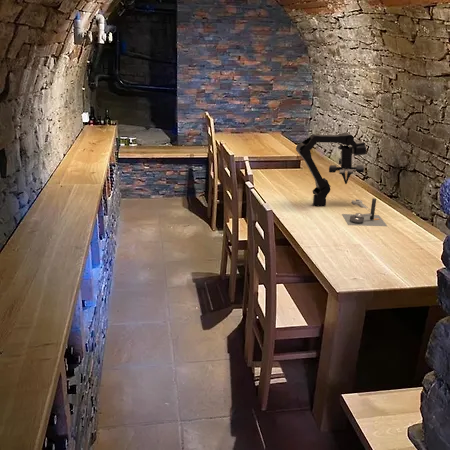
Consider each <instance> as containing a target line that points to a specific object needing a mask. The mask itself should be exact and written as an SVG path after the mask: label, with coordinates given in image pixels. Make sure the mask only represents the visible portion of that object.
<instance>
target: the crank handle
mask: <svg viewBox="0 0 450 450" xmlns="http://www.w3.org/2000/svg"><path fill="white" fill-rule="evenodd" d="M376 205H377V198H374V197H373V198H372V199H371V206H370V209H371V210H370V213H369V212H368V213H360V212H356V213H355V215H352V216H350V221H351V222H353V223H363V222H364V217H365V216H370V219H371V220H373V219H374V215H375V214H376V213H375V211H376Z"/></svg>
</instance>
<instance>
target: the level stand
mask: <svg viewBox="0 0 450 450" xmlns="http://www.w3.org/2000/svg"><path fill="white" fill-rule="evenodd" d="M355 214H356V213H355ZM355 214H354V213H351V214H350V213H341V216H342V217H343V219H344V221H345V223H346V225H347V226H364V227H388V225H387V224H386V222H385V221H384V220H383V218H382V217H381V216H380V214H374V219H373V220H371V219H370V216H365V217H364V222H363V223H353V222H351V221H350V216H352V215H355Z"/></svg>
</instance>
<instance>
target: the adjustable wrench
mask: <svg viewBox="0 0 450 450" xmlns="http://www.w3.org/2000/svg"><path fill="white" fill-rule="evenodd" d="M351 204H352V205H355V206H358V207H360V208H362V209H363V208H364V209H365V210H367V212H368V213H369V212H370V213H371V207H368V206H366V205H365V204H364V203H363V200H361V199H358V198H356V199H355V200H354V199H352V200H351Z"/></svg>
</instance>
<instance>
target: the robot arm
mask: <svg viewBox="0 0 450 450" xmlns="http://www.w3.org/2000/svg"><path fill="white" fill-rule="evenodd" d="M317 143H329V144H330V143H332V144H340V145H339V146H337V149H338V150H341V153H340V154H341V155H340V156H341V157H340V158H338V165H340V166H337V164H336V165H335V164H334V165H332V164H331V165H329V167H328V173H330V174H331V173H333V174H334V173H336V172H337V171H338V172H339V174H340V175H341V177H342V178H343V181H344V184H345V185H347V184H348V182H349V179H350V177H351V175H353V174H354V171H355V172H357V173H365V169H364V168H365V167H364V165H363V164H362V165H361V164H359V165H357V164H356V166H353V155H354V156H364V155H366V154H367V147H366V143H365V142H364V141H363V142H357V143H356V141H355V138H354V136H353V135H352V134H350V133H348V132H342V133H337V134H316V133H314V134H313V133H312V134H311V135H310V136H309V137H307V138H306V139H303V141H301V142H300V143H298V144H297V145H296V147H295V150H296V152H297V153H298V154H299V156H300V157H301V158H302V159H303V161H304V162H305V164H306V166H307V168H308V170H309V172H310V174H311V176H312V177H313V179H314V182H315V188H314V189H313V190H312V195H313V197H312V198H313V199H312V203H311V206H312V207H326V205H327V196H328V195H329V193H330V192H331V185H330V183H329V181H328V179H326V178H325V177H323V176H322V174H321V173H320V171H319V169H318V168H317V166H316V163H315V161H314V160H313V158H312V152H311V150H312V149H313V148H314V146H316V145H317ZM346 171H347V173H346Z"/></svg>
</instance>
